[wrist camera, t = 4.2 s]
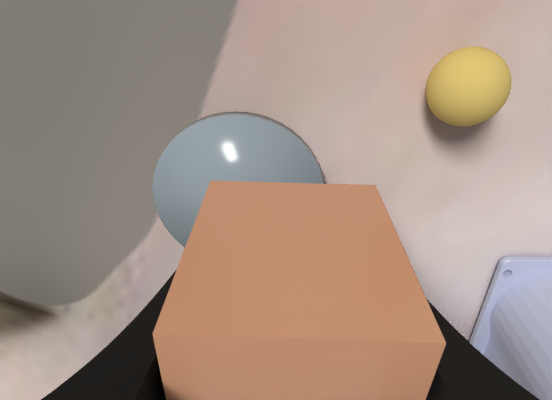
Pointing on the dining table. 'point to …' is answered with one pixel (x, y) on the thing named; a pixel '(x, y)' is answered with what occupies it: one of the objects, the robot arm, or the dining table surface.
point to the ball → (468, 86)
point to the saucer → (226, 163)
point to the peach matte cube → (295, 300)
